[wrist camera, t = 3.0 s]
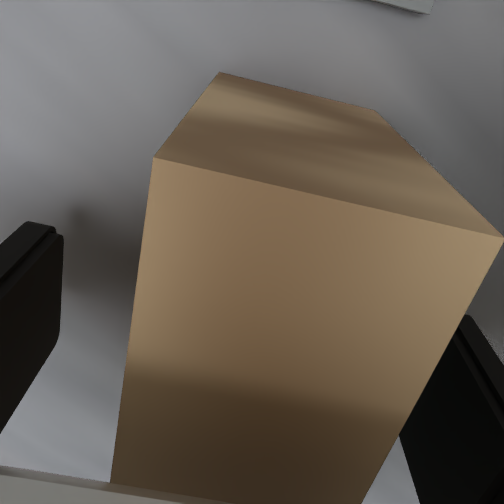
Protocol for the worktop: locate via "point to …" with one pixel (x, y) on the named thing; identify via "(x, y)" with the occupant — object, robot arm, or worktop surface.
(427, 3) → the mat
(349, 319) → the block
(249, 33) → the worktop surface
